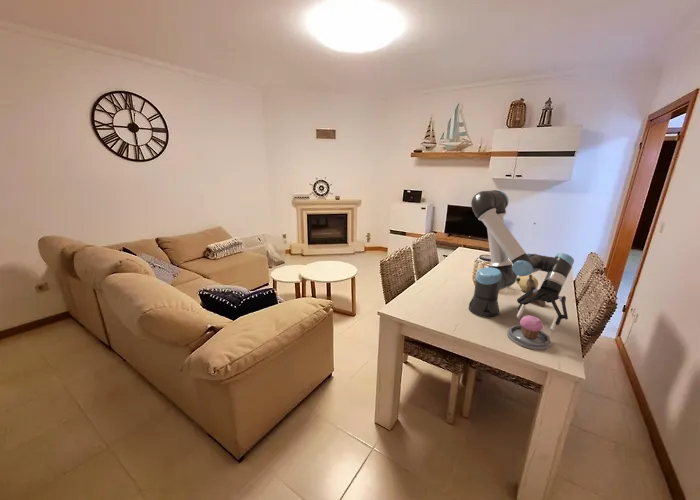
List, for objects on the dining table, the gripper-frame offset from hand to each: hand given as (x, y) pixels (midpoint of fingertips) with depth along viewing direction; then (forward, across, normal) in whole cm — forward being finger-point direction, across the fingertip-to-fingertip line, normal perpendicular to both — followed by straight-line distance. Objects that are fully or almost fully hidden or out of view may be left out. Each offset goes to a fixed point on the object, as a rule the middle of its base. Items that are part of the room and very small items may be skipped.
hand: (533, 323), depth 130 cm
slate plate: (+6, +1, -6) cm, 8 cm away
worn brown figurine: (-24, +15, -37) cm, 46 cm away
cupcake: (+5, +1, -5) cm, 7 cm away
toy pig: (-34, +24, -48) cm, 63 cm away
